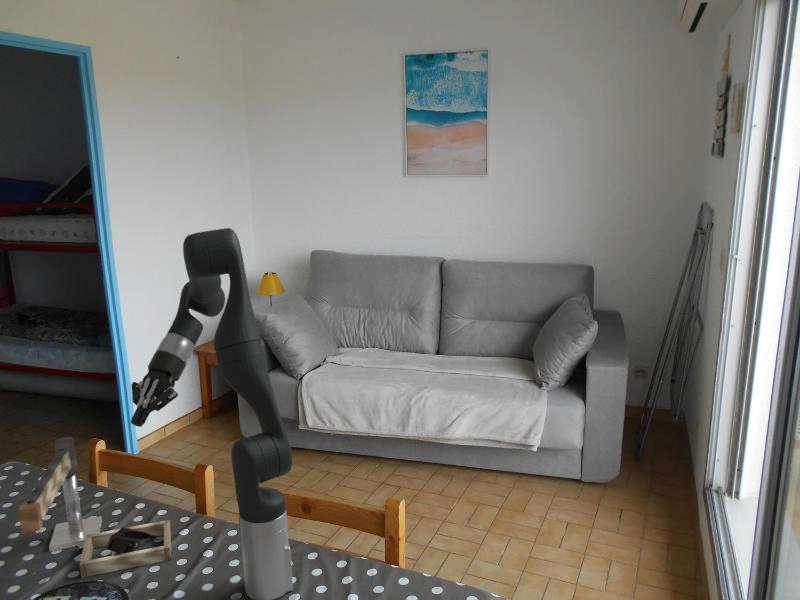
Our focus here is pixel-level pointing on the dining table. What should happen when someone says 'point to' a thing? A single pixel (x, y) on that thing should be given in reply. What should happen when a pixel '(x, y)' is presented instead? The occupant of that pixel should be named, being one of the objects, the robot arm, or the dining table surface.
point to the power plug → (126, 540)
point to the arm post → (73, 520)
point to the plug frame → (126, 559)
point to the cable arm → (48, 485)
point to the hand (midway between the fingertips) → (135, 425)
